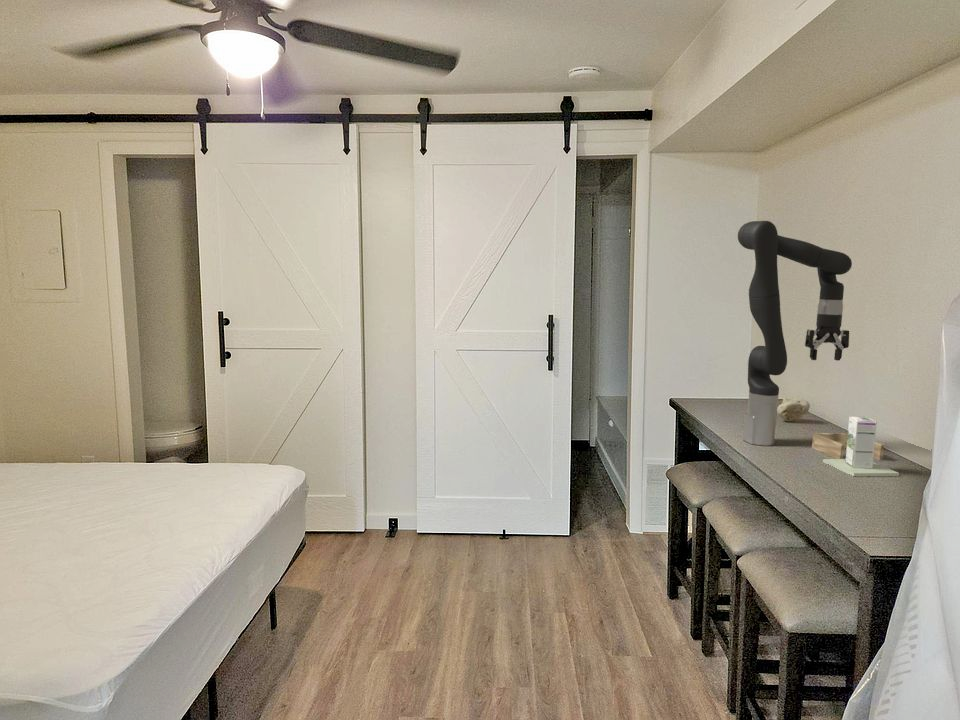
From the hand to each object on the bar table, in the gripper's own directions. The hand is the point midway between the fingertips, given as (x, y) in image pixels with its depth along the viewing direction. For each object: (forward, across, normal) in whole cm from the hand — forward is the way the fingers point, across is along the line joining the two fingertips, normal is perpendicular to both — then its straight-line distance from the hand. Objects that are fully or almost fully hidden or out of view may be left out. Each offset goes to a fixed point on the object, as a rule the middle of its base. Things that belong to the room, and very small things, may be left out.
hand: (825, 360), depth 219 cm
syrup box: (+28, -7, -31) cm, 42 cm away
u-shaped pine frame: (+29, 0, -15) cm, 32 cm away
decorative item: (+29, +7, +29) cm, 42 cm away
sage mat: (+29, -6, -31) cm, 43 cm away
